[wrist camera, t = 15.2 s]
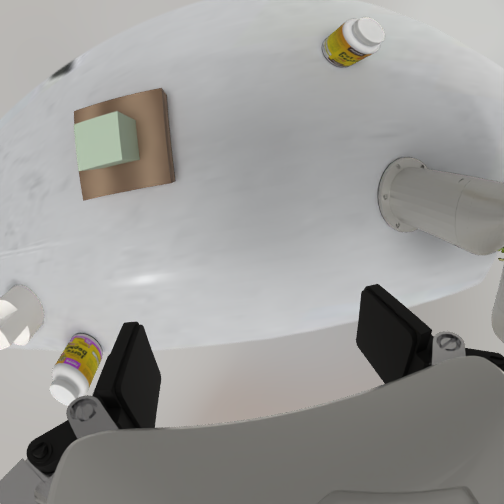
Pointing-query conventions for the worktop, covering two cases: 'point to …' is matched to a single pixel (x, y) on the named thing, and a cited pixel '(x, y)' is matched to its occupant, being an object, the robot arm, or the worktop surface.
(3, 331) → the base with upright slab
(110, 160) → the sage block
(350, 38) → the supplement bottle
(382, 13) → the worktop surface
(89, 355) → the supplement bottle
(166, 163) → the walnut base
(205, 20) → the worktop surface
